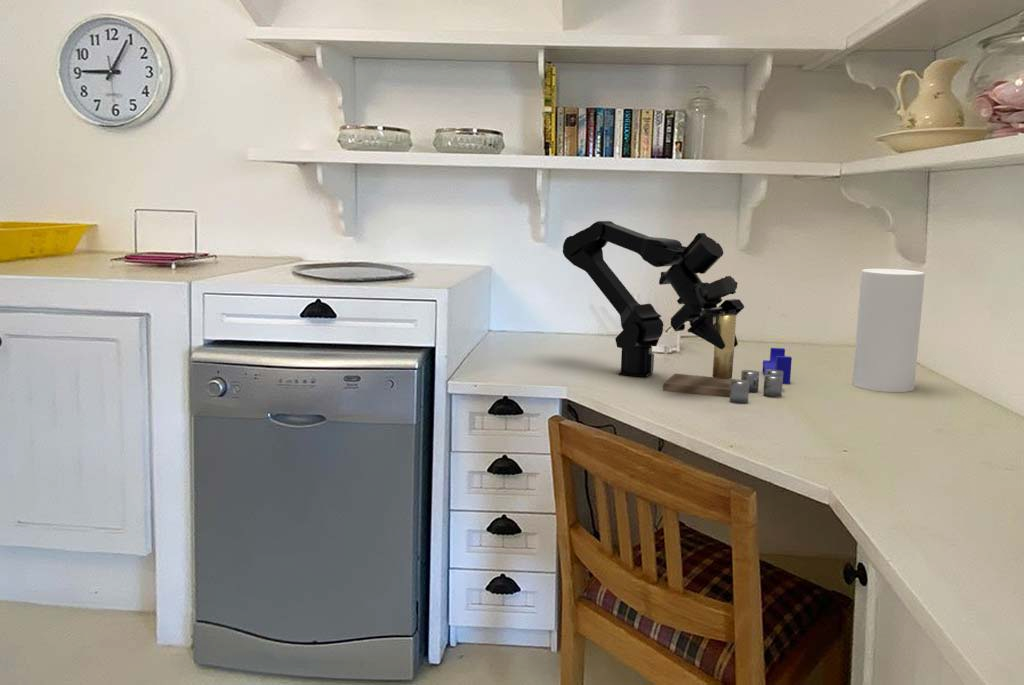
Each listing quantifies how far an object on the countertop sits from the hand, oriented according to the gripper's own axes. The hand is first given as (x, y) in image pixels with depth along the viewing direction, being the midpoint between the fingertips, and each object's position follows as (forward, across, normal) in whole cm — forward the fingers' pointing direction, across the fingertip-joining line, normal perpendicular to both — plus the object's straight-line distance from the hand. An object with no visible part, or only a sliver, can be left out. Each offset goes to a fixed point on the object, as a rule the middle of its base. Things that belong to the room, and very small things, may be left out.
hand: (729, 346), depth 189 cm
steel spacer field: (+10, +3, +3) cm, 11 cm away
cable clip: (+6, +22, +9) cm, 24 cm away
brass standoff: (+4, 0, +6) cm, 7 cm away
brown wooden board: (+3, 0, +11) cm, 11 cm away
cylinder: (+19, +33, -5) cm, 39 cm away
